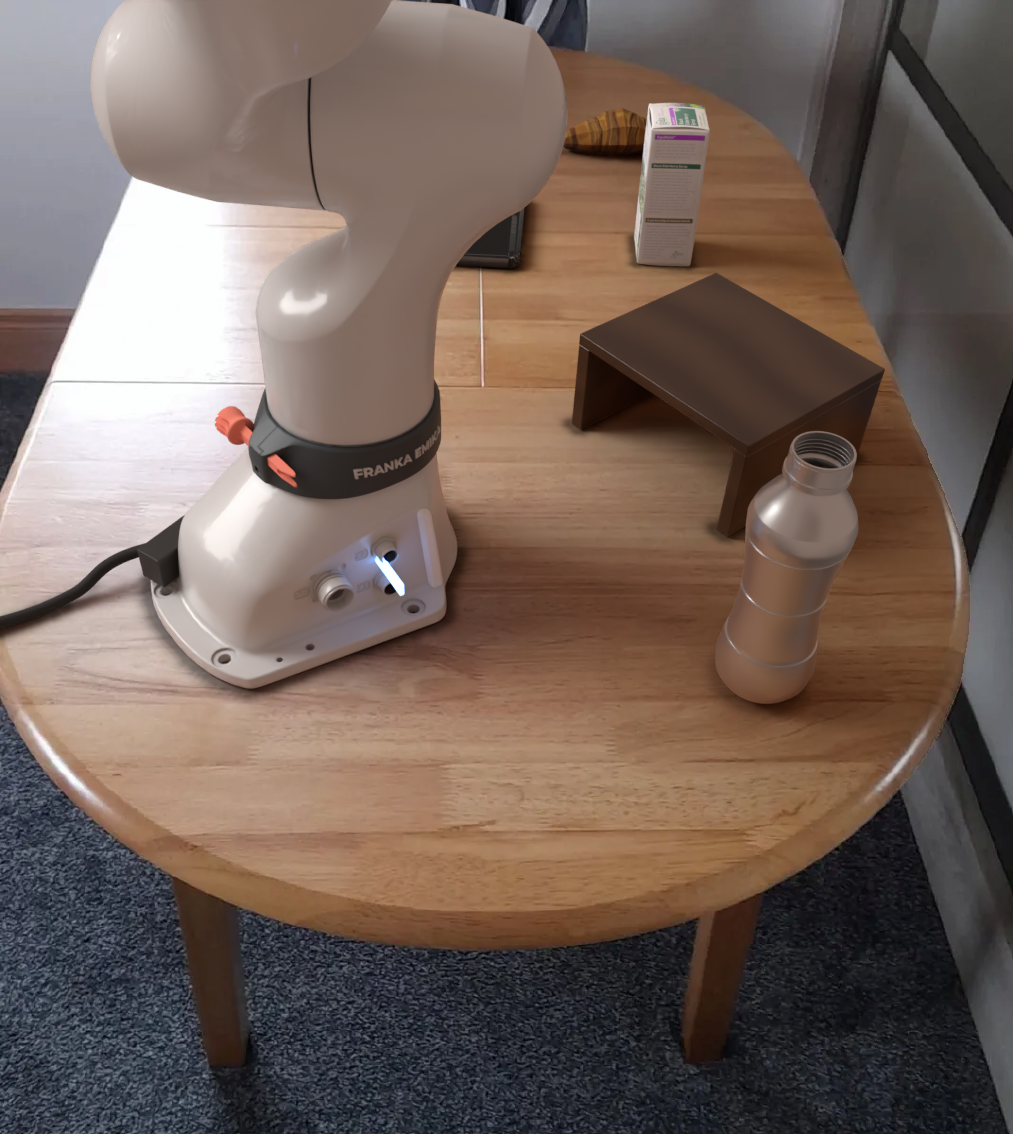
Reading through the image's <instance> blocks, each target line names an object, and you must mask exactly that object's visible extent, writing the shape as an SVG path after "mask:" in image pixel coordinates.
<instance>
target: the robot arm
mask: <svg viewBox="0 0 1013 1134" xmlns="http://www.w3.org/2000/svg"><path fill="white" fill-rule="evenodd" d="M90 96H91V101H92V102H91V103H92V108H93V113H94V116H95V119H96V122H97V126H98V128H99V130H100V133H101V135H102V138H103V140H104V141H105V143H106V145H107V147H108V148H109V150H110V152H111V153H112V154H113V156H114V158H115V159H116V160H117V162H118V163H119V164H120V165H121V166H122V167H123V169H124V170H125V171H126V172H127V173H128V174H129V175H130V176H131V177H133V178H134V179H136V180H138V181H141V182H144V183H148V184H151V185H155V186H157V187H161V188H165V189H167V190H171V191H174V192H177V193H180V194H185V195H189V196H192V197H195V198H199V199H204V200H207V201H212V202H216V203H223V204H224V203H225V204H235V205H237V204H239V205H249V206H251V205H252V206H262V207H263V206H264V207H276V208H286V209H287V208H288V209H300V210H313V211H326V212H329V213H335V214H337V215H340V216H341V217H342V218H343V219H344V221H345V223H346V225H345V226H343V227H342V228H340V229H338V230H336V231H335V232H332V233H329V234H327V235H325V236H322V237H319V238H316V239H315V240H312V241H310V242H308V243H306V244H304V245H302V246H299V248H297V249H295V250H294V251H293V252H291V253H289V254H288V255H287V256H285V257H284V258H283V259H281V260H280V261H279V262H278V263H277V264H276V265H275V266H274V267H273V268H272V269H271V270H270V271H269V273H268V275H267V276H266V278H265V279H264V281H263V283H262V285H261V287H260V289H259V293H258V296H257V299H256V300H257V301H256V307H255V319H256V320H255V321H256V329H257V335H258V341H259V342H258V343H259V350H260V359H261V367H262V374H263V381H264V389H263V392H262V394H261V398H260V401H259V404H258V408H257V410H256V414H255V418H254V422H253V420H251V418H248V417H246V415H245V414H244V413H243V411H242V410H241V409H240V408H238V406H234V405H229V406H226V407H224V408H222V409H221V410H220V411H219V412H218V413H217V416H216V417H215V419H214V422H215V423H214V426H215V430H216V431H217V432H219V433H220V434H221V435H223V436H225V437H226V438H227V440H228V442H229V443H230V444H232V445H233V446H240V445H244V444H245V445H246V446H248V447H246V449H244V450H243V452H241V454H239V456H238V457H237V458H236V459H235V460H234V461H233V462H232V463H231V464H230V466H228V468H226V470H225V471H224V472H223V473H222V474H221V475H220V477H219V478H217V479H216V481H215V482H214V483H213V484H212V485H211V486H210V487H209V488H208V489H207V490H206V491H205V492H204V494H202V496H201V497H200V498H198V500H196V502H194V504H193V505H192V506H190V508H189V509H187V511H186V512H185V514H184V515H182V516H181V517H180V518H178V519H177V520H175V521H174V522H173V523H171V524H170V525H168V526H167V527H165V528H164V529H163V530H162V531H160V532H159V533H158V534H156V535H155V536H153V537H152V538H150V539H149V540H148V541H146V542H144V543H140V544H137V545H134V546H131V547H128V548H125V549H123V550H121V551H118V552H116V553H114V554H112V555H109V556H108V557H107V558H105V559H104V560H102V561H101V562H99V563H98V564H97V565H96V566H94V568H93V569H91V571H89V573H88V574H87V575H85V577H83V578H82V579H81V581H79V582H78V583H77V584H75V585H74V586H73V587H70V588H69V589H67V590H65V591H63V592H61V593H60V594H57V595H55V596H53V597H52V598H48V599H47V600H45V601H43V602H40V603H38V604H34V605H32V606H29V607H27V608H24V609H21V610H18V611H14V612H11V613H6V614H4V615H0V630H2V629H5V628H9V627H13V626H16V625H20V624H22V623H26V622H29V621H31V620H34V619H35V620H36V619H38V618H40V617H42V616H44V615H47V614H50V613H52V612H54V611H57V610H58V609H60V608H63V607H64V606H67V605H68V604H71V603H72V602H75V601H76V600H79V599H80V598H81V597H83V596H84V595H85V594H87V593H88V592H89V591H90V590H91V589H92V588H94V586H95V585H96V584H98V582H99V581H100V580H101V579H103V578H104V577H105V576H106V575H107V574H108V573H109V572H110V571H112V570H113V569H115V568H117V567H118V566H121V565H123V564H125V563H127V562H130V561H132V560H136V559H139V563H140V564H139V565H140V567H141V571H142V576H144V577H146V578H147V579H148V580H150V591H151V600H152V603H153V609H154V610H155V612H156V615H157V617H158V619H159V621H160V623H161V624H162V626H163V627H164V629H165V630H166V632H167V633H168V635H169V636H170V637H171V638H172V640H173V642H174V643H176V645H177V646H178V647H179V648H180V649H181V650H182V652H184V653H185V655H186V656H188V657H189V659H191V660H192V661H193V662H194V663H195V664H196V665H197V666H199V667H200V668H201V669H203V670H204V671H205V672H207V673H208V674H210V675H212V676H213V677H215V678H217V679H219V680H221V681H224V682H226V683H228V684H231V685H234V686H236V687H240V688H244V689H248V690H249V689H250V690H252V689H258V688H261V687H264V686H267V685H270V684H273V683H275V682H278V681H280V680H284V679H286V678H289V677H292V676H294V675H297V674H300V673H302V672H303V673H304V672H306V671H308V670H311V669H314V668H316V667H319V666H322V665H324V664H327V663H330V662H332V661H335V660H338V659H340V658H341V659H342V658H344V657H346V656H349V655H351V654H355V653H357V652H361V651H362V650H366V649H368V648H371V647H373V646H376V645H378V644H381V643H384V642H388V641H390V640H392V639H396V638H398V637H400V636H403V635H405V634H409V633H411V632H414V631H417V630H419V629H422V628H425V627H428V626H430V625H433V624H436V623H438V622H440V621H441V620H442V619H443V618H444V617H445V615H446V613H447V606H448V605H447V594H446V586H447V582H448V579H449V578H450V575H451V574H452V571H453V569H454V567H455V564H456V561H457V555H458V540H457V535H456V531H455V530H454V527H453V525H452V523H451V521H450V517H449V514H448V511H447V507H446V504H445V500H444V499H445V498H444V495H443V490H442V484H441V478H440V471H439V463H438V450H439V448H440V445H441V442H442V408H441V394H440V393H441V392H440V387H439V385H438V383H437V381H436V379H435V355H436V354H435V353H436V351H435V350H436V337H437V326H438V316H439V309H440V305H441V302H442V301H441V300H442V297H443V293H444V291H445V288H446V285H447V283H448V280H449V278H450V276H451V275H452V273H453V271H454V270H455V268H456V266H458V265H457V263H458V262H459V260H460V259H461V258H462V256H463V255H464V254H465V252H466V251H467V250H468V249H469V248H470V247H471V246H472V245H473V244H474V243H475V242H476V241H477V240H478V239H479V238H480V237H481V236H482V235H483V234H485V233H486V232H487V231H488V230H490V229H491V228H492V227H494V226H495V225H496V224H498V223H499V222H501V221H503V220H504V219H506V218H507V217H509V216H511V215H513V214H515V213H517V212H519V211H521V210H522V209H523V208H524V207H527V206H529V204H531V203H532V201H534V199H536V197H537V196H538V195H539V194H540V193H541V192H542V190H543V189H544V188H545V187H546V185H547V184H548V182H549V181H550V179H551V177H552V176H553V174H554V172H555V169H557V165H558V163H559V162H560V158H561V155H562V153H563V151H564V147H563V146H564V142H565V137H566V131H568V129H567V128H568V115H569V114H568V112H569V111H568V98H567V93H566V87H565V84H564V80H563V77H562V72H561V71H560V68H559V65H558V63H557V60H556V59H555V57H554V55H553V53H552V51H551V49H550V48H549V46H548V45H547V43H546V41H545V40H544V38H542V37H541V35H540V34H539V32H538V31H536V29H535V28H533V27H531V26H528V25H525V24H522V23H519V22H516V21H512V20H509V19H506V18H503V17H500V16H496V15H493V14H489V13H486V12H482V11H479V10H475V9H472V8H469V7H468V8H467V7H464V6H461V5H456V4H453V3H439V2H426V1H411V0H123V1H122V2H121V3H120V4H119V5H118V6H117V7H116V9H115V10H114V11H113V12H112V14H111V15H110V16H109V18H108V19H107V21H106V22H105V23H104V26H103V28H102V29H101V32H100V34H99V36H98V39H97V41H96V44H95V48H94V51H93V55H92V59H91V66H90ZM524 209H525V208H524ZM413 612H414V613H413Z"/></svg>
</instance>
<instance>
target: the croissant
mask: <svg viewBox="0 0 1013 1134" xmlns="http://www.w3.org/2000/svg"><path fill="white" fill-rule="evenodd" d="M646 123H647V117H644V116H640V115H639V114H637V113H635V112H634V111H631V110H629V109H626V108H623V107H620V108H617V109H611V110H606V111H603V112H602V113H600V114H598V115H597V116H595V117H591V118H588V119H586V120H584V121H582V122H579V123H577V124H574V125H573V126H572V127H570V128H569V129H567V130H566V137H565V142H564V146H563V149H565V150H569V151H573V152H577V153H586V154H604V155H616V156H625V155H633V154H639V153H643V149H644V140H645V131H646Z"/></svg>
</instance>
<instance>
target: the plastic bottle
mask: <svg viewBox="0 0 1013 1134" xmlns="http://www.w3.org/2000/svg"><path fill="white" fill-rule="evenodd" d="M856 457H857V458H858V455H857V453H856V450H855V448H854V446H853V445H852V444H851V443H850V442H849V441H847V440H846V439H844V438H843V437H841V436H838V435H836V434H833V433H829V432H823V431H810V432H805V433H802V434H800V435H798V436H797V437H796V438H795V439H794V440H793V442H792V443H791V446H790V449H789V453H788V456H787V457H786V458H785V461H784V464H783V467H782V474H780V475H778V476H777V477H775V478H774V479H772V480H771V481H770V482H768V483H767V484H765V485H764V486H763V487H761V489H760V490H759V491H758V492H757V493H756V495H755V496H754V498H753V499H752V501H751V503H750V505H749V507H748V512H747V519H746V526H745V532H744V533H745V535H744V559H743V564H742V570H741V577H740V583H739V588H738V591H737V594H736V596H735V599H734V601H733V605H732V607H731V610H730V613H729V615H728V617H726V619H725V622H724V623H723V625H722V627H721V630H720V632H719V635H718V637H717V639H716V641H715V645H714V646H715V647H714V657H715V658H714V663H715V670H716V672H717V675H718V677H719V678H720V680H721V681H722V682H723V684H724V685H725V686H726V687H727V688H728V689H729V690H730V691H731V692H732V693H733V694H735V695H736V696H737V697H739V698H741V699H743V700H746V701H748V702H751V703H754V704H755V703H756V704H761V705H773V704H779V703H781V702H785V701H789V700H791V699H793V698H794V697H796V696H797V695H799V694H800V693H801V692H803V690H804V689H805V687H806V686H807V685H808V683H809V681H810V680H811V678H812V676H813V675H814V673H815V670H816V668H817V661H818V651H819V634H820V633H819V632H820V627H821V623H822V618H823V612H824V608H825V605H826V603H827V600H828V597H829V595H830V593H831V590H832V587H833V585H834V583H835V580H836V579H837V576H838V574H839V573H840V571H841V569H842V567H843V566H844V564H845V562H846V560H847V558H848V556H849V555H850V552H851V551H852V550H853V547H854V545H855V543H856V540H857V537H858V534H859V515H858V511H857V507H856V505H855V502H854V500H853V498H852V496H851V494H850V492H849V491H848V489H849V487H850V485H851V483H852V481H853V477H854V472H853V471H854V468H855V465H856V462H857V458H856Z"/></svg>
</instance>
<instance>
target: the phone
mask: <svg viewBox="0 0 1013 1134" xmlns="http://www.w3.org/2000/svg"><path fill="white" fill-rule="evenodd" d="M524 217H525V207H524V208H523V209H522V210H521V211H519V212H517V213H515V214H513V215H511V216H509V217H507V218H506V219H504V220H503V221H501V222H499V223H498V224H496V225H495V226H494V227H492V228H491V229H490V230H488V231H487V232H486V233H485V234H483V235H482V236H481V237H480V238H479V239H478V240H477V241H476V242H475V243H474V244H473V245H472V246H471V247H470V248H469V249H468V250H467V251H466V252H465V254H464V255H463V256H462V258H461V259H460V260H459V262H458V263H457V265H456V266H459V267H475V268H477V267H479V268H492V269H514V268H517V267H518V266H519V265H520V261H521V255H522V246H523V240H524V239H523V228H524Z"/></svg>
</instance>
